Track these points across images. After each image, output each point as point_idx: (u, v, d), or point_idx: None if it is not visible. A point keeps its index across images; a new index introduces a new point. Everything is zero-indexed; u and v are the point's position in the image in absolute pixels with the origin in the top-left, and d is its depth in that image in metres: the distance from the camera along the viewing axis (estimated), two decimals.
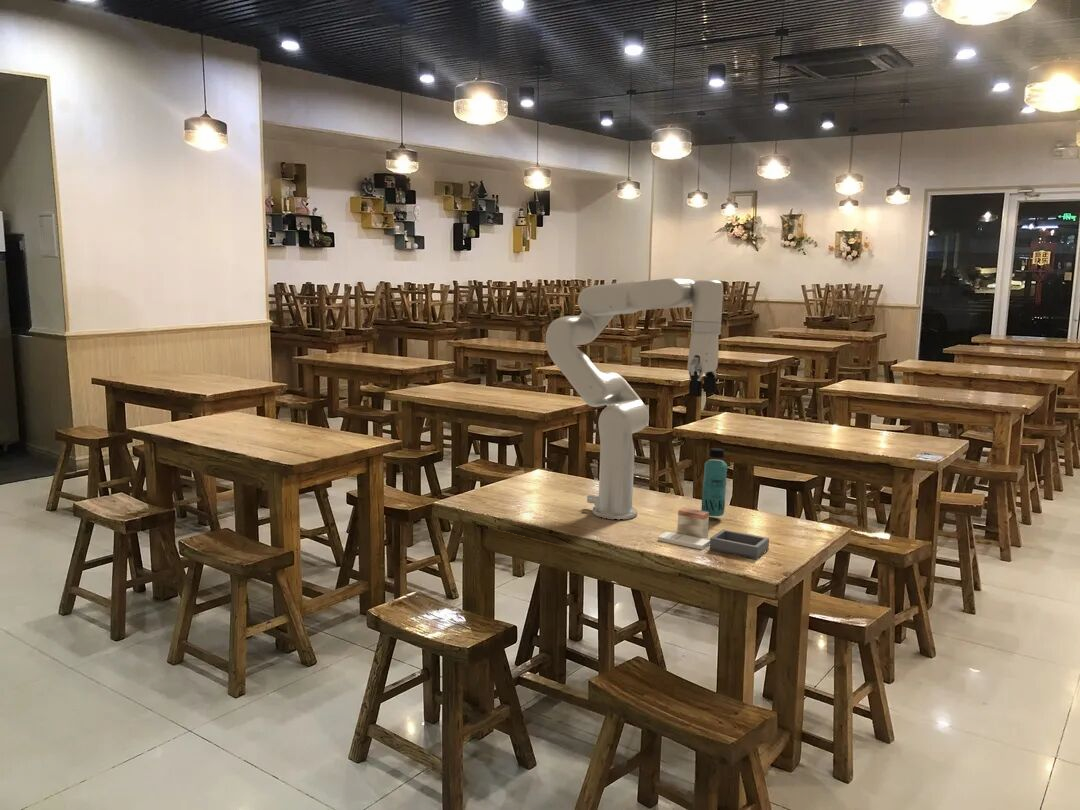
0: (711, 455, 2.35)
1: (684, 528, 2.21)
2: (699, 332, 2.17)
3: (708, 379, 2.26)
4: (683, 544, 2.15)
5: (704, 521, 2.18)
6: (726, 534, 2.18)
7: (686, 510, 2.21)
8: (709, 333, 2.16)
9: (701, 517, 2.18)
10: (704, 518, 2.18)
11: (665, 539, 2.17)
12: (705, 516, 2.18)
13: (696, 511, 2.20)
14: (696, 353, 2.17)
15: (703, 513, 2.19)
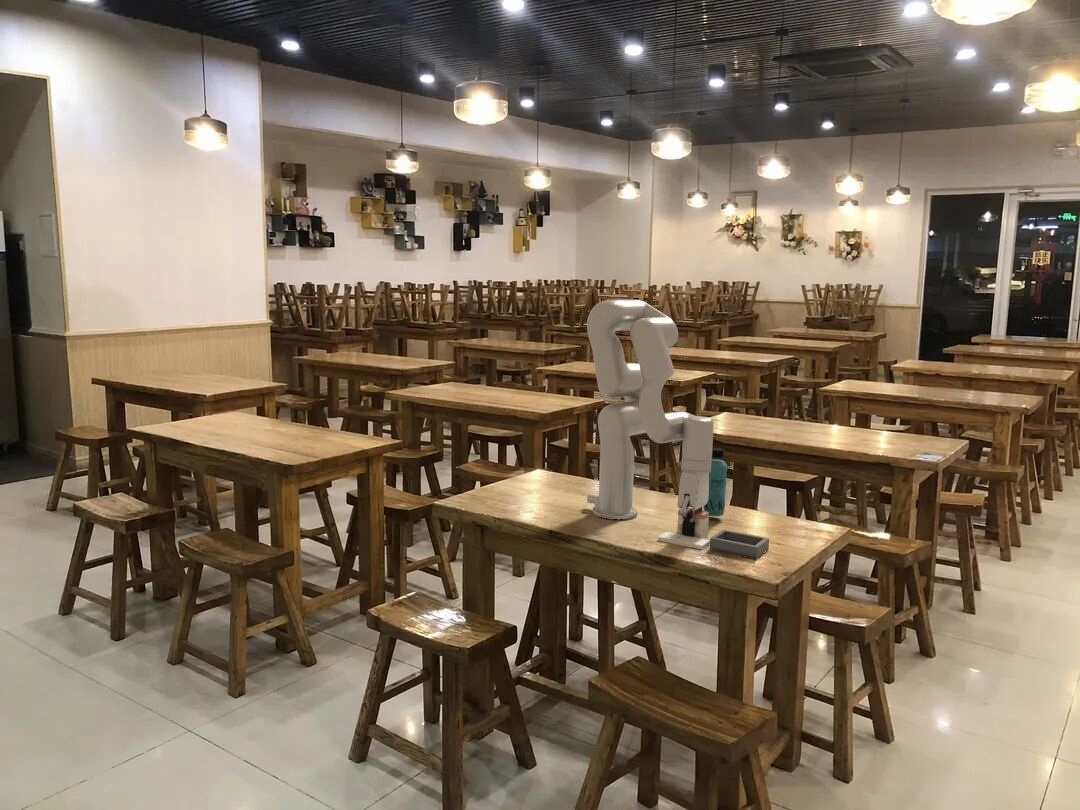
0: None
1: None
2: (689, 470, 2.16)
3: None
4: (683, 544, 2.15)
5: (704, 521, 2.18)
6: (726, 534, 2.18)
7: None
8: (699, 472, 2.15)
9: (701, 517, 2.18)
10: (704, 518, 2.18)
11: (665, 539, 2.17)
12: (705, 516, 2.18)
13: (696, 511, 2.20)
14: (686, 491, 2.16)
15: (703, 513, 2.19)
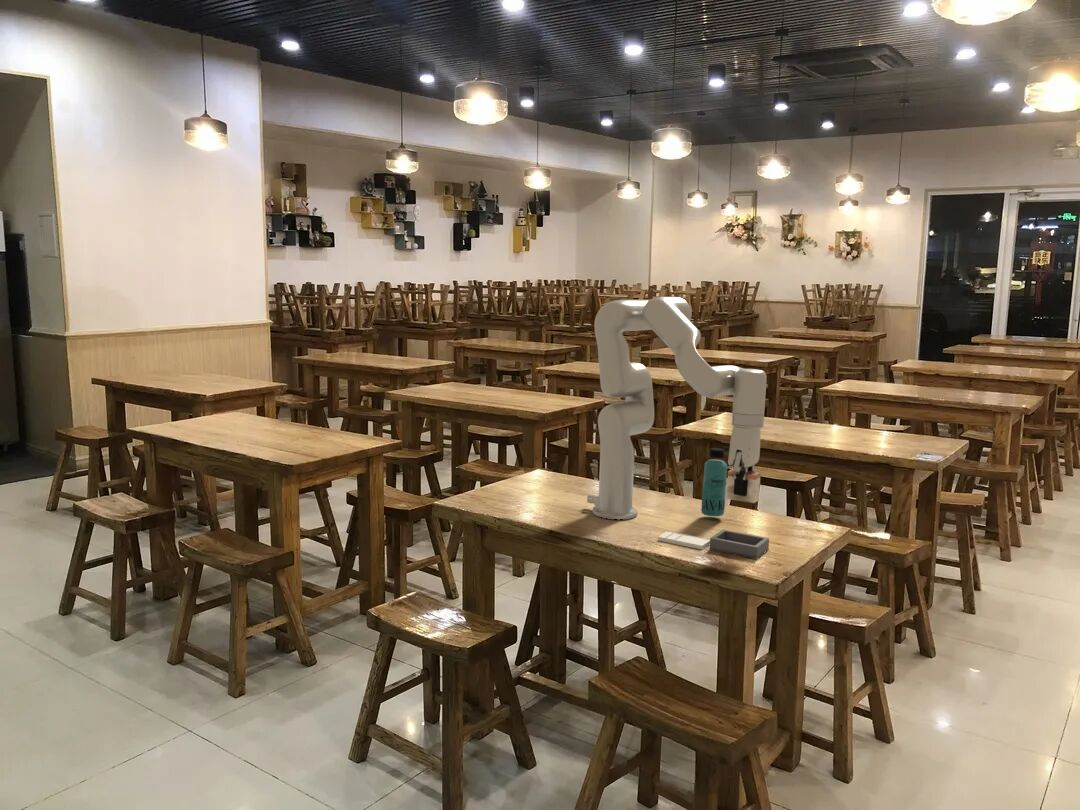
0: (711, 455, 2.35)
1: None
2: (741, 425, 2.05)
3: None
4: (683, 544, 2.15)
5: (756, 482, 2.07)
6: (726, 534, 2.18)
7: None
8: (752, 426, 2.04)
9: (753, 477, 2.07)
10: (756, 478, 2.07)
11: (665, 539, 2.17)
12: (757, 476, 2.07)
13: (747, 472, 2.09)
14: (738, 447, 2.04)
15: (754, 473, 2.07)
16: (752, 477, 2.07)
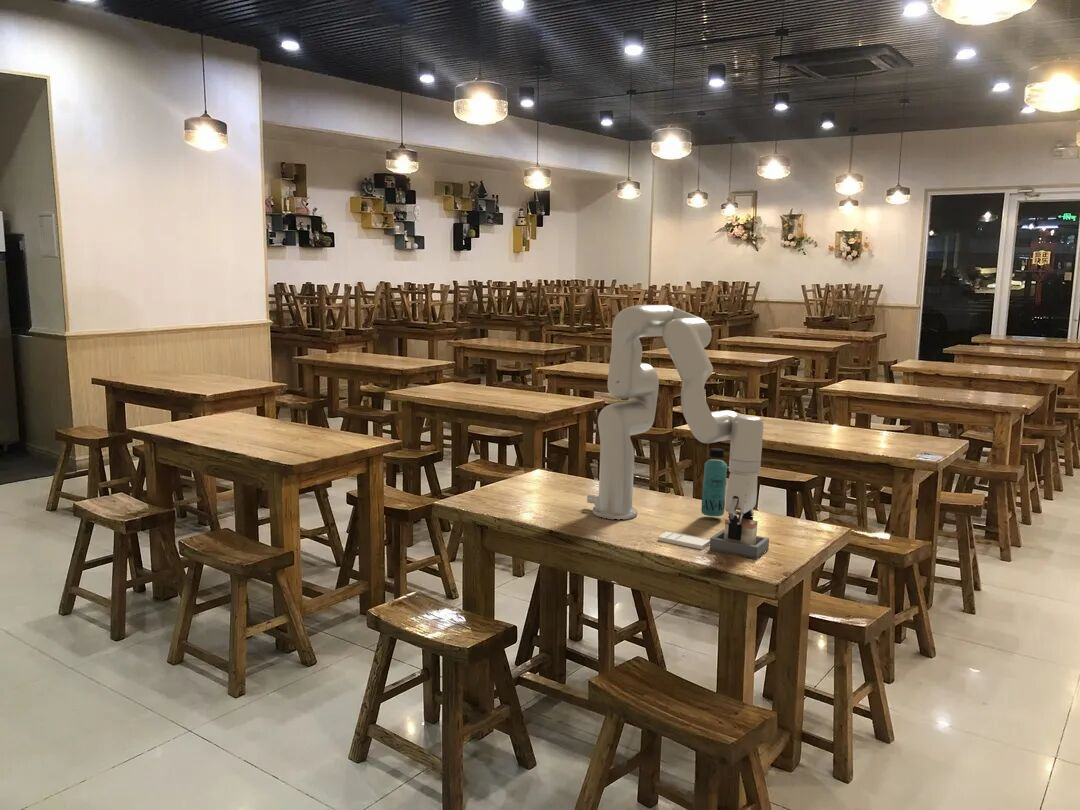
0: (711, 455, 2.35)
1: None
2: (738, 471, 2.06)
3: (744, 518, 2.15)
4: (683, 544, 2.15)
5: (753, 531, 2.09)
6: None
7: None
8: (749, 473, 2.06)
9: (750, 526, 2.09)
10: (753, 527, 2.09)
11: (665, 539, 2.17)
12: (754, 525, 2.09)
13: (744, 520, 2.11)
14: (735, 494, 2.06)
15: (751, 523, 2.09)
16: (749, 526, 2.09)
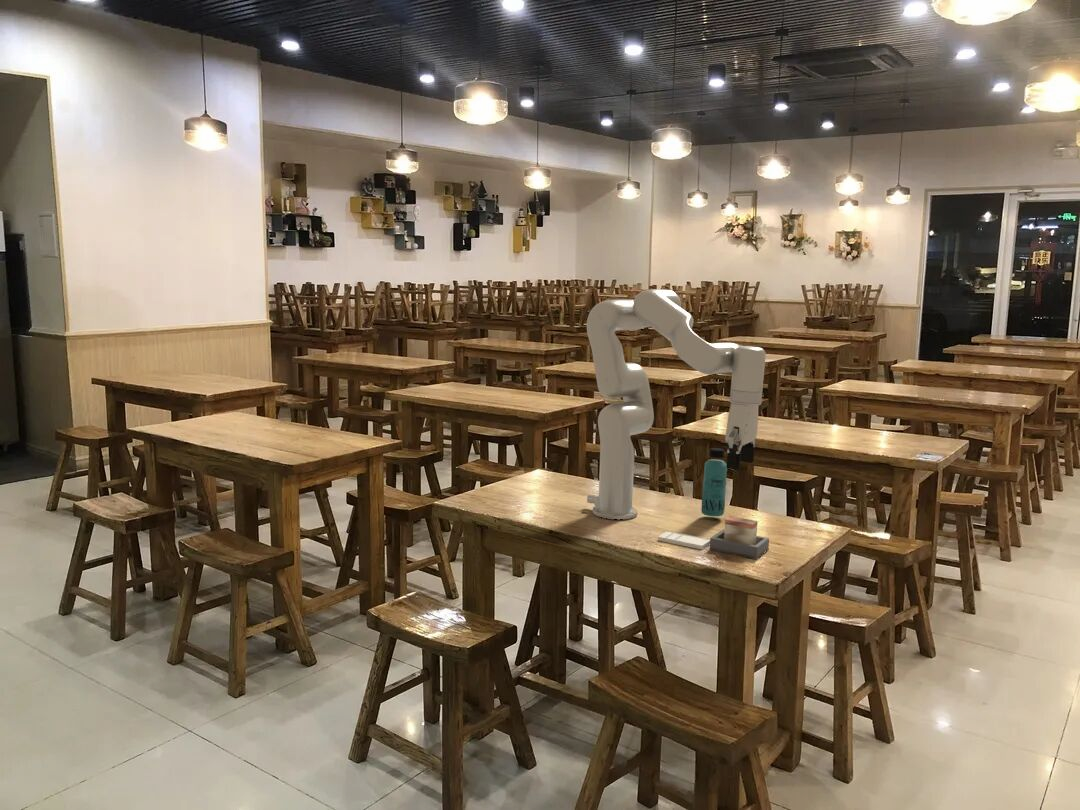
0: (711, 455, 2.35)
1: (731, 538, 2.12)
2: (739, 402, 2.05)
3: (746, 448, 2.14)
4: (683, 544, 2.15)
5: (753, 531, 2.09)
6: None
7: (733, 519, 2.12)
8: (750, 404, 2.05)
9: (750, 526, 2.09)
10: (753, 527, 2.09)
11: (665, 539, 2.17)
12: (754, 525, 2.09)
13: (744, 520, 2.11)
14: (735, 424, 2.05)
15: (751, 523, 2.09)
16: (749, 526, 2.09)
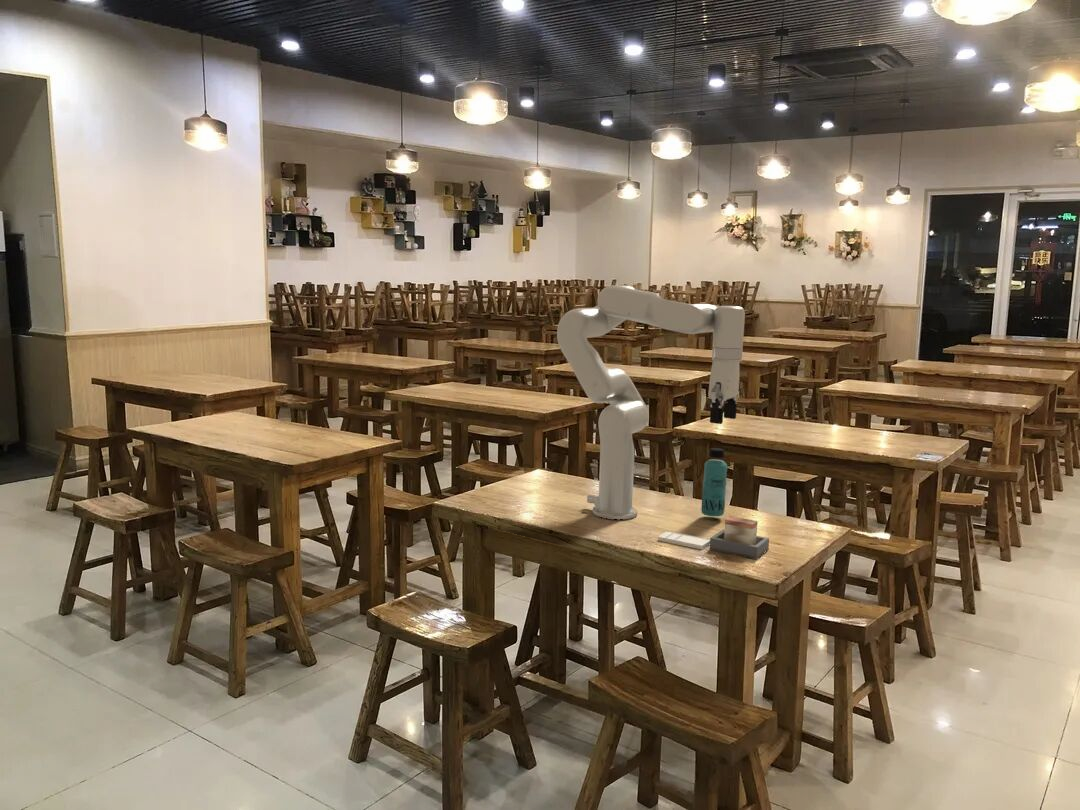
0: (711, 455, 2.35)
1: (731, 538, 2.12)
2: (720, 359, 2.15)
3: (729, 405, 2.24)
4: (683, 544, 2.15)
5: (753, 531, 2.09)
6: None
7: (733, 519, 2.12)
8: (731, 360, 2.14)
9: (750, 526, 2.09)
10: (753, 527, 2.09)
11: (665, 539, 2.17)
12: (754, 525, 2.09)
13: (744, 520, 2.11)
14: (717, 380, 2.15)
15: (751, 523, 2.09)
16: (749, 526, 2.09)
